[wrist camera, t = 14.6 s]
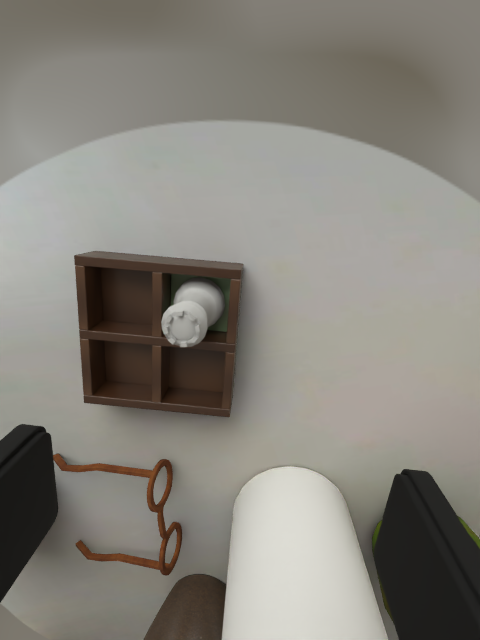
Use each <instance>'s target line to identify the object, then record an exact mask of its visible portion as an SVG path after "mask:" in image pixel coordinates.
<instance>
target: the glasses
mask: <svg viewBox="0 0 480 640" xmlns="http://www.w3.org/2000/svg"><path fill="white" fill-rule="evenodd" d="M53 460H54V461H55V462H56V464H57V465H58V466H59V468H60V469H61V470H62V471H72V472H85V471H95V470H98V471H105V472H112V473H119V474H126V475H134V476H141V477H148V478H150V479H149V483H148V488H147V503H148V507H149V509H150V510H151V511H152V512H157V513H158V526H159V531H160V536H161V537H162V538H163V540H162V544H161V549H160V556H159V562H158V561H154V560H149V559H144V558H139V557H135V556H130V555H125V554H120V553H119V554H96V553H92V552H91V551H90V550H89V549H88V548H87V547H86V546H85V545H84V544H83V542H82V541H81V540H80V541H78V542H77V543H76V547H77V548H78V549H79V550H80V551H81V552H82V554H83V555H84V556H85V557H86V558H87V559H89V560H96V561H121V562H126V563H130V564H135V565H140V566H144V567H149V568H154V569H158V570H160V572H161V573H162V574H163V575H169V574H170V573H171V572H172V570H173V568H174V566H175V564H176V561H177V559H178V556H179V552H180V548H181V542H182V529H181V525H180V524H179V523H178V522H173V523H172V524H171V525H170V527H169V528H168V530H167V532H166V528H165V522H164V517H163V507H164V505H165V503H166V501H167V499H168V496H169V494H170V491H171V487H172V480H173V471H172V465H171V463H170V461H169V460H167V459H162V460H160V461H159V462H158V463H157V465H156V466H155V468H154V469H153V471H152V470H145V469H137V468H130V467H123V466H115V465H108V464H100V463H99V464H91V465H67V464H66V463H65V461H64V460H63V459H62V457H61V456H60V455H59V454H56V455H53ZM163 466H165V467H166V470H167V486H166V490H165V492H164V495H163V497H162V499H161V501H160V502H159V503H158V504H157V505H156V504H155V502H154V498H153V488H154V483H155V480H156V477H157V475H158V473H159V471H160V469H161V468H162V467H163ZM174 529H176V532H177V544H176V549H175V553H174V556H173V558H172V561H171V563H170V564H168V563H165V551H166V546H167V543H168V540H169V538H170V536H171V534H172V532H173V531H174Z"/></svg>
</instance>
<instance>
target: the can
mask: <svg viewBox="0 0 480 640" xmlns="http://www.w3.org/2000/svg"><path fill="white" fill-rule="evenodd" d="M222 640H388V637H387V634H386V631H385V628H384V624H383V621H382V618H381V614H380V611H379V608H378V605H377V601H376V598H375V595H374V592H373V588H372V585H371V582H370V578H369V575H368V572H367V569H366V565H365V562H364V559H363V555H362V552H361V549H360V546H359V542H358V539H357V536H356V532H355V529H354V526H353V523H352V519H351V516H350V513H349V509H348V506H347V503H346V501H345V499H344V497H343V496H342V494H341V492H340V491H339V489H338V488H337V487H336V486H335V485H334V484H333V483H332V482H330V481H329V480H328V479H327V478H326V477H324V476H323V475H321V474H319V473H317V472H314V471H312V470H309V469H307V468H300V467H292V466H286V467H279V468H271V469H269V470H267V471H264V472H262V473H260V474H257V475H256V476H254V477H253V478H252V479H251V480H250V481H248V482H247V483H246V484H245V485H244V486H243V488H242V489H241V491H240V493H239V494H238V496H237V498H236V500H235V502H234V509H233V517H232V528H231V539H230V551H229V562H228V573H227V585H226V596H225V607H224V619H223V630H222Z"/></svg>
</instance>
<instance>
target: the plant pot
mask: <svg viewBox="0 0 480 640" xmlns="http://www.w3.org/2000/svg"><path fill="white" fill-rule="evenodd" d="M225 596H226V586H225V585H224V584H223V583H222V582H221V581H220V580H218V579H216V578H214V577H211V576H208V575H200V574H198V575H190V576H187V577H184V578H182V579H181V580H179V581H178V582H177V583H176V584H175V586H174V587H173V589H172V590H171V592H170V593H169V595H168V597H167V598H166V600H165V601H164V603H163V605H162V607H161V608H160V610H159V612H158V614H157V615H156V617H155V619H154V621H153V623H152V625H151V626H150V628H149V630H148V632H147V634H146V636H145V638H144V640H222V630H223V619H224V607H225Z"/></svg>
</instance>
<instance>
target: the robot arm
mask: <svg viewBox="0 0 480 640" xmlns="http://www.w3.org/2000/svg"><path fill="white" fill-rule="evenodd" d="M57 513H58V502H57V492H56V482H55V472H54V462H53V452H52V442H51V435H50V434H49V433H46V429H45V428H44V427H42V426H33V425H25V424H21V425H19V426H17V427H16V428H14V429H13V430H12V431H11V432H10V433H9V434H8V435H6V436H5V437H4V438H3V439H2V440H1V441H0V602H1V601H2V599H3V598H4V597H5V595H6V594H7V592H8V591H9V589H10V588H11V586H12V585H13V583H14V582H15V580H16V579H17V577H18V576H19V574H20V573H21V571H22V570H23V568H24V567H25V565H26V564H27V562H28V561H29V559H30V558H31V556H32V555H33V553H34V552H35V550H36V549H37V547H38V546H39V544H40V543H41V541H42V540H43V538H44V537H45V535H46V534H47V532H48V531H49V530H50V528H51V527H52V525H53V523H54V522H55V519H56V517H57ZM374 561H375V566H376V569H377V572H378V575H379V578H380V581H381V584H382V588H383V591H384V594H385V597H386V600H387V603H388V606H389V609H390V613H391V616H392V619H393V622H394V625H395V628H396V631H397V634H398V638H399V640H480V548H479V547H478V545H477V544H476V542H475V541H474V540H473V539H472V537H471V536H470V535H469V534H468V532H467V530H466V529H465V527H464V526H463V524H462V523H461V521H460V520H459V518H458V516H457V515H456V513H455V512H454V510H453V509H452V507H451V506H450V504H449V502H448V501H447V499H446V498H445V496H444V495H443V493H442V491H441V490H440V488H439V487H438V485H437V484H436V482H435V481H434V479H433V477H432V476H431V475H430V474H429V473H428V472H426V471H417V470H409V469H404V470H403V471H402V472H401V474H396V475H395V477H394V480H393V484H392V487H391V491H390V494H389V498H388V501H387V505H386V508H385V512H384V515H383V519H382V522H381V526H380V529H379V533H378V536H377V540H376V543H375V547H374Z"/></svg>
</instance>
